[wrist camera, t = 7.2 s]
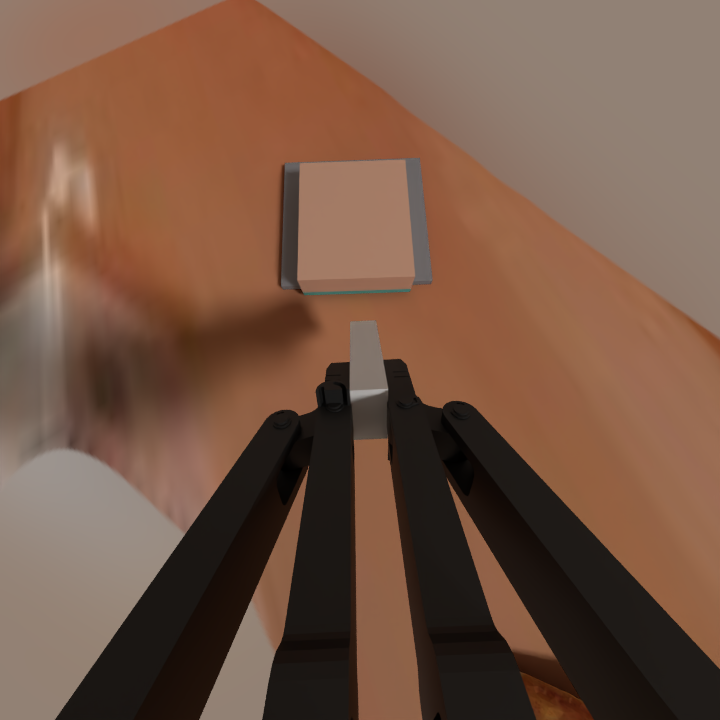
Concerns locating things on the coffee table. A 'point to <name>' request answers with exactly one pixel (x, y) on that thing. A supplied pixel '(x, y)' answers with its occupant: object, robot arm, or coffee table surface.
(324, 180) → the tile
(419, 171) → the pad
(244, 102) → the coffee table surface
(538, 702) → the brown curved bar
